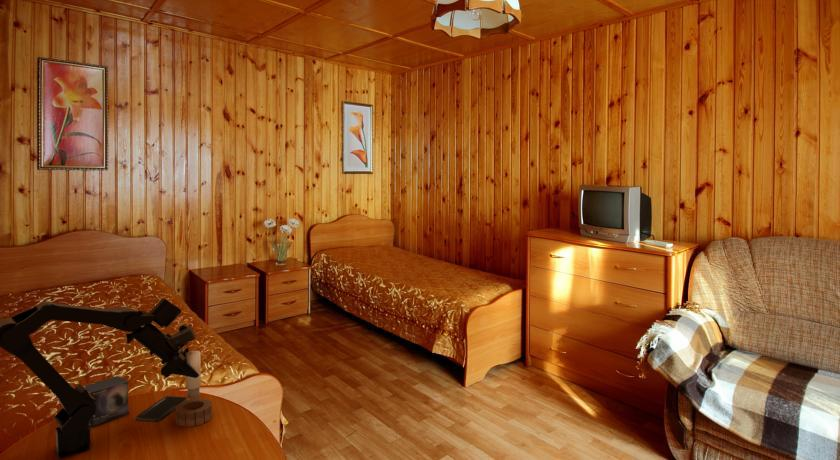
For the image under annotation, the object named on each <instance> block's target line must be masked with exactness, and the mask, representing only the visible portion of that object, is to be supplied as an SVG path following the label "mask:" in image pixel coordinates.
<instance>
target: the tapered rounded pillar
mask: <svg viewBox="0 0 840 460" xmlns="http://www.w3.org/2000/svg"><path fill="white" fill-rule="evenodd" d="M186 355H187V362H188V363H189V364H190V365H191V366H192V367H193V368H194V369H195V371H196V372H197V373H198V374H199V376H198V377H197V378H193V377H188V376H185V388H186V389H187V395H186V396H187V399H189V400H190V399H192V400H193V399H198V398H199V397H200V395H201V394H200V387H201V386H202V374H201V373H202V369H201V368H202V367H201V365H202V363H201V360H202V359H201V351H200V350H189V352H187V353H185V356H186Z"/></svg>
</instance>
